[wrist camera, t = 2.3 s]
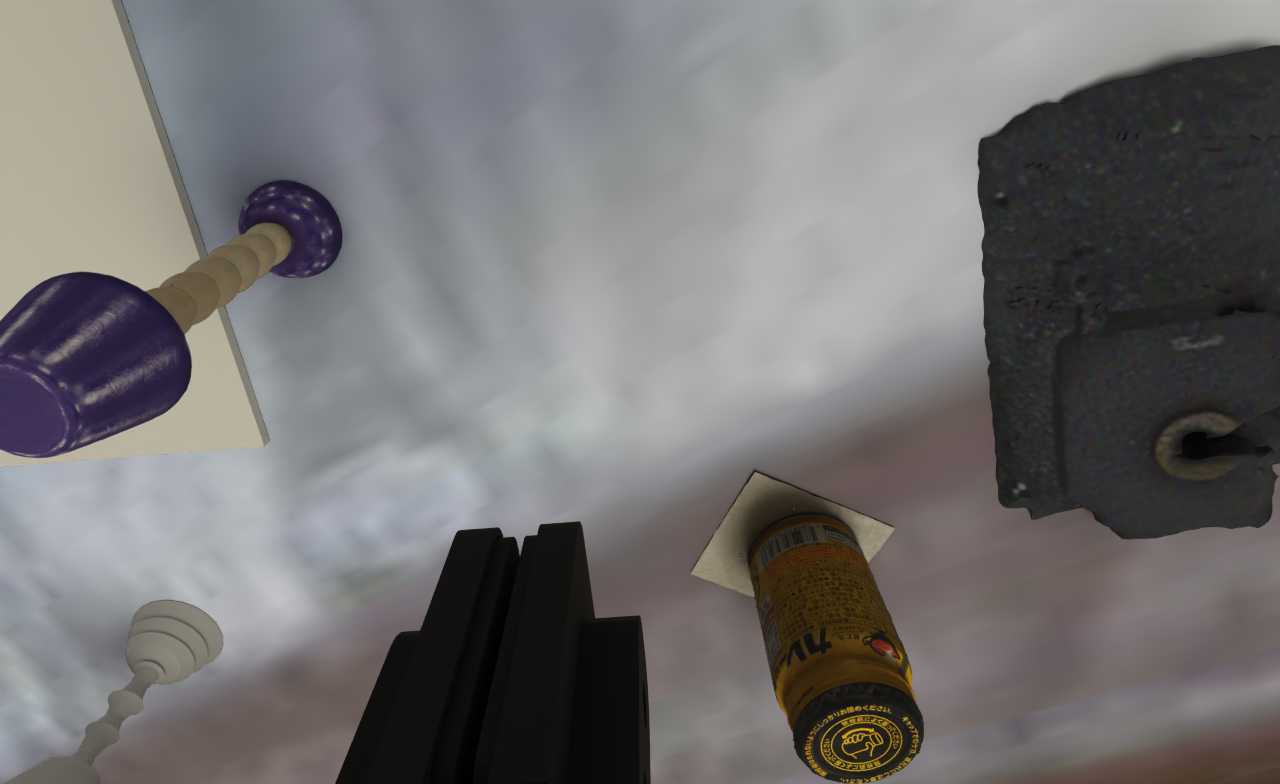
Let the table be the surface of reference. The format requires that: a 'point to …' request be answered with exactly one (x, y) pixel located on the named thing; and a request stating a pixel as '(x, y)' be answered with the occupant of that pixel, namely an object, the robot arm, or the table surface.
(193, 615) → the chalice
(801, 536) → the condiment
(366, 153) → the table surface
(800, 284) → the table surface
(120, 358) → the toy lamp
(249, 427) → the mat
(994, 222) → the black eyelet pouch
